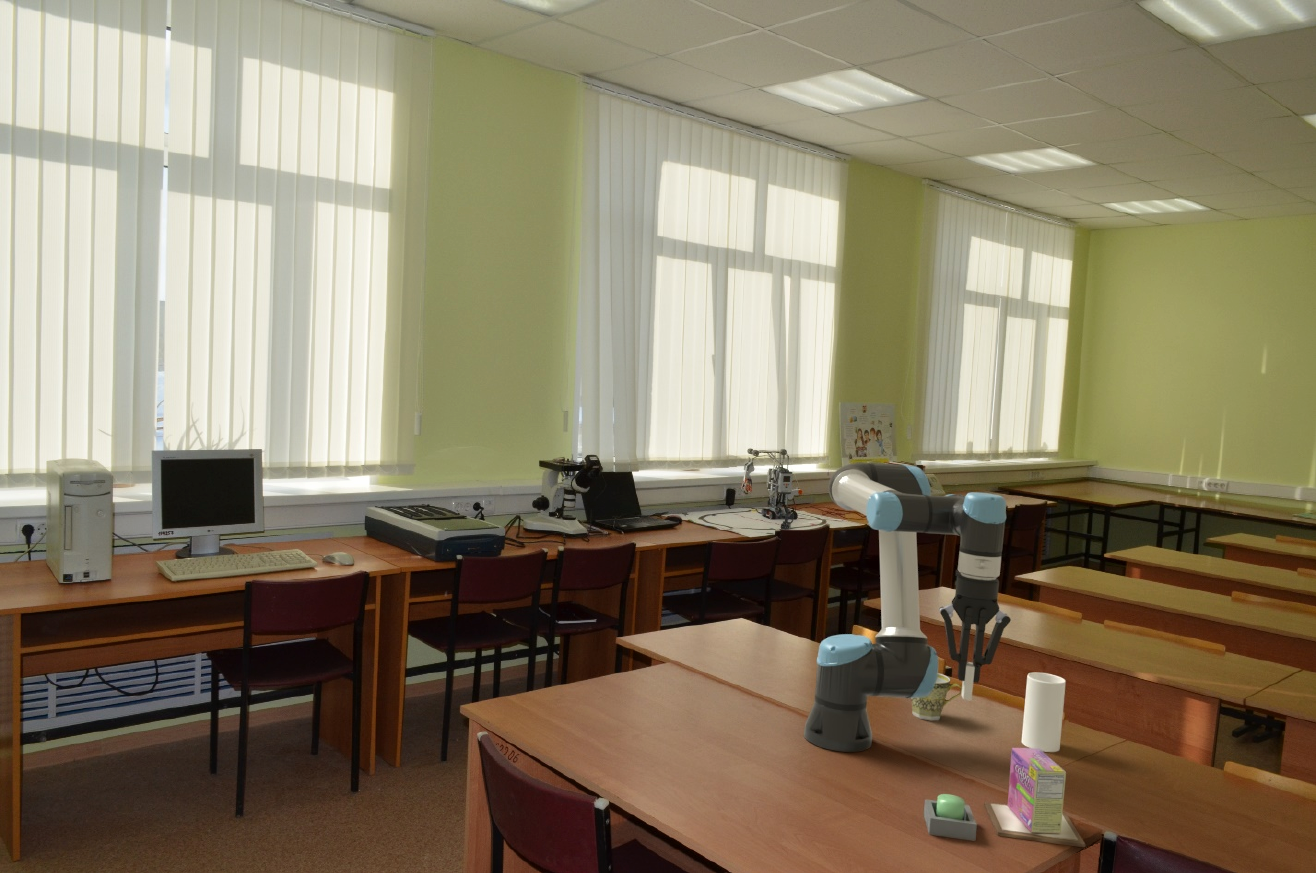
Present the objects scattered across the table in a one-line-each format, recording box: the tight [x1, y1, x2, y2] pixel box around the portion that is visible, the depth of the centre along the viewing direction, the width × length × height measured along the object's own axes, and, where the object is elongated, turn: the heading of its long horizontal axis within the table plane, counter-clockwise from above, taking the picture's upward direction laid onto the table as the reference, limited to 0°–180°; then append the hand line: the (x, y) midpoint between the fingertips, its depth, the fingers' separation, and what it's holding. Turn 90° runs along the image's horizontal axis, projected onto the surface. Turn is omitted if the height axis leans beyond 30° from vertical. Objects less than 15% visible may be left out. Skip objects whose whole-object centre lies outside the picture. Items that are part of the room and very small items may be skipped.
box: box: [1007, 747, 1067, 833], centre depth 172 cm, size 10×6×12 cm, turn 3°
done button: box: [936, 793, 966, 820], centre depth 169 cm, size 5×5×4 cm
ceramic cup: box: [910, 672, 962, 721], centre depth 229 cm, size 13×10×10 cm
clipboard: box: [984, 801, 1086, 848], centre depth 172 cm, size 15×13×1 cm
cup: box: [1021, 672, 1067, 753], centre depth 214 cm, size 8×8×16 cm
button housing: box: [923, 799, 978, 842], centre depth 169 cm, size 8×8×3 cm
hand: (966, 697), depth 175 cm, fingers closed
